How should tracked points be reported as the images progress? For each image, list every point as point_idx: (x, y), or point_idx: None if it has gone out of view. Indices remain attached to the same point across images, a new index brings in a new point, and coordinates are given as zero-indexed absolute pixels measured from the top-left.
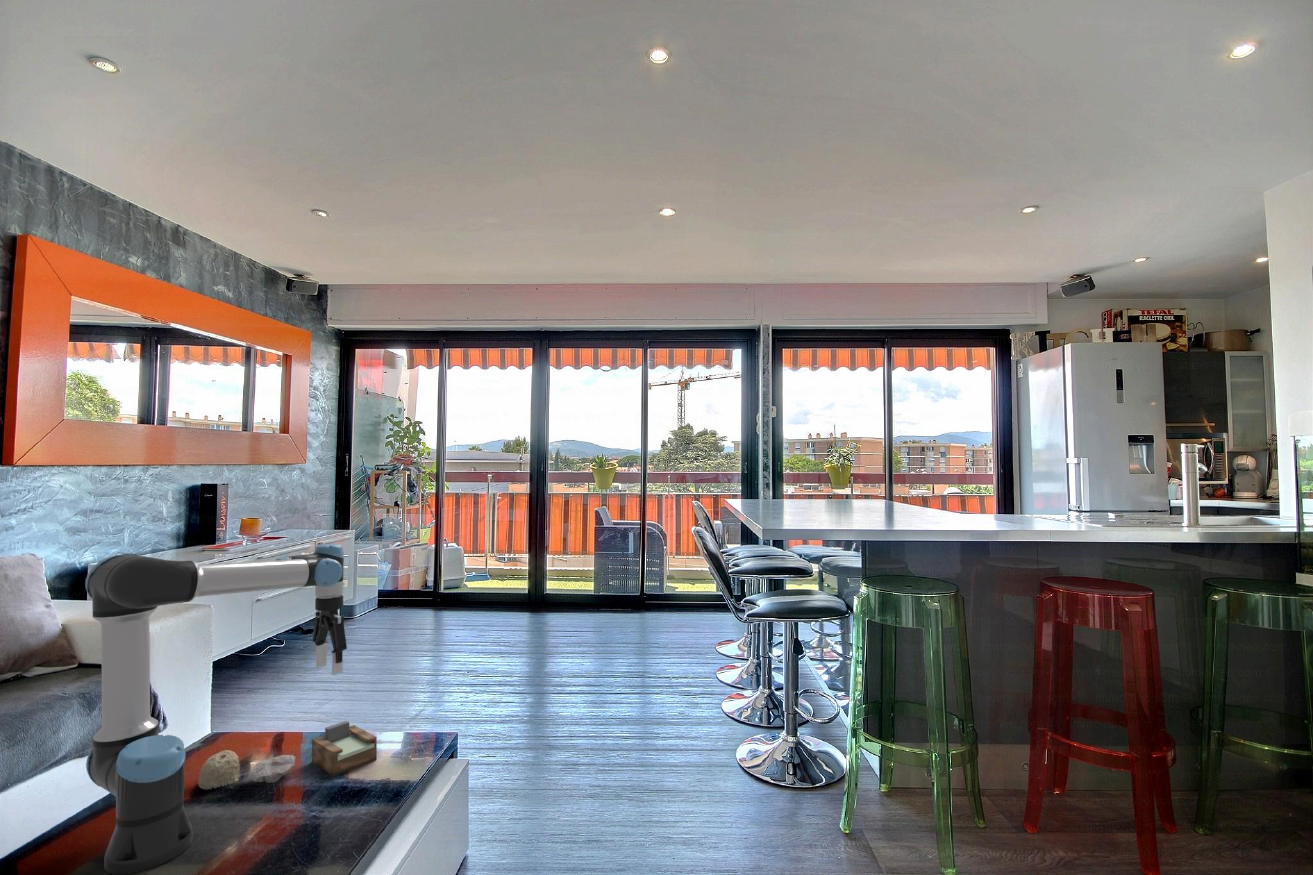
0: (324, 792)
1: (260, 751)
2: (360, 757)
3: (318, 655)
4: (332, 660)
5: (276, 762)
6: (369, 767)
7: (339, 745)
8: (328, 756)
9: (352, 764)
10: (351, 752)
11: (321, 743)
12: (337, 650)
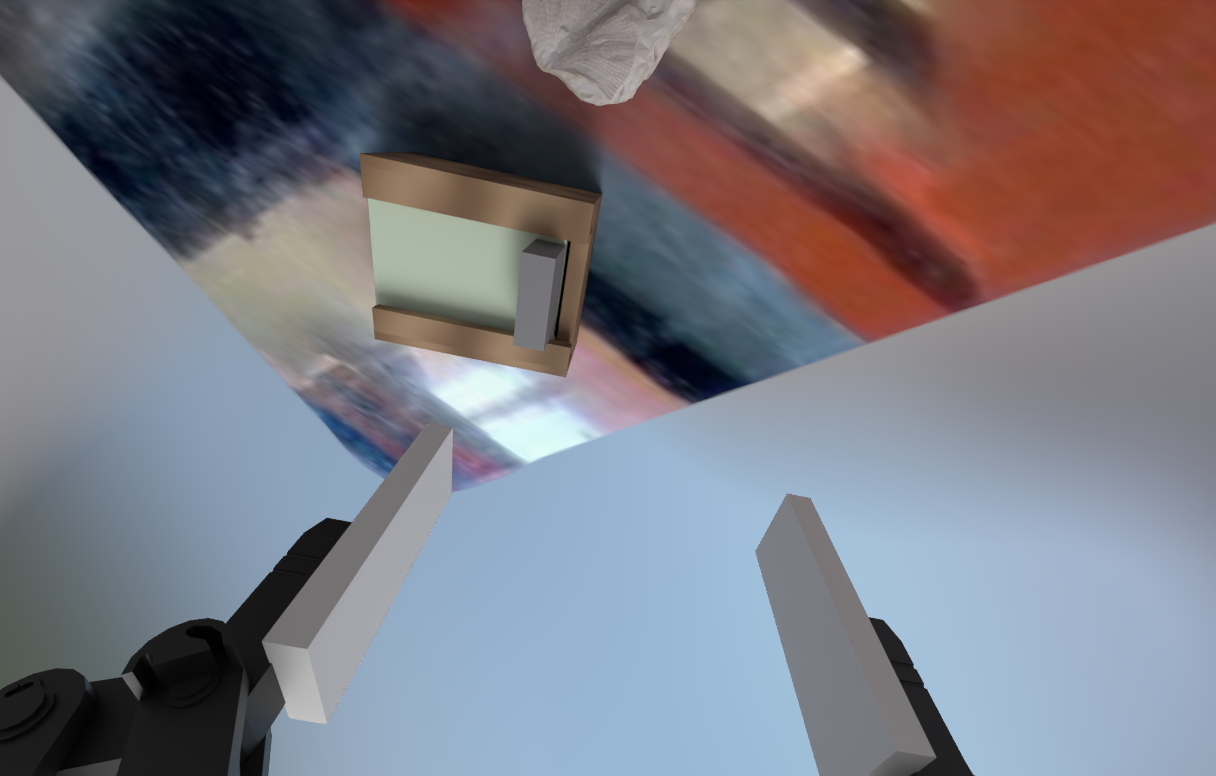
0: (302, 39)
1: (911, 153)
2: None
3: (827, 611)
4: (370, 534)
5: (615, 10)
6: None
7: (475, 248)
8: (427, 163)
9: None
10: (371, 228)
11: (507, 193)
12: (32, 683)
